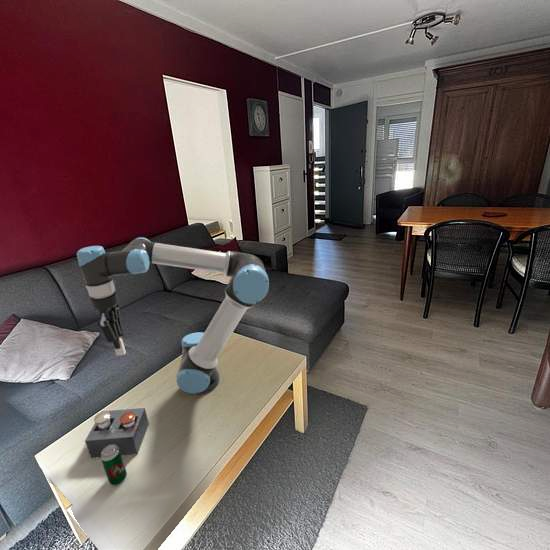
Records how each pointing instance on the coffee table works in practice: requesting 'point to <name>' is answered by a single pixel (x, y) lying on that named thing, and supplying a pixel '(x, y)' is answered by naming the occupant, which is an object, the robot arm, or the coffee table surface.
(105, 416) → the white light bulb
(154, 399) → the coffee table surface
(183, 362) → the robot arm
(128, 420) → the orange light bulb
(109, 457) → the soda can
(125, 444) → the housing
